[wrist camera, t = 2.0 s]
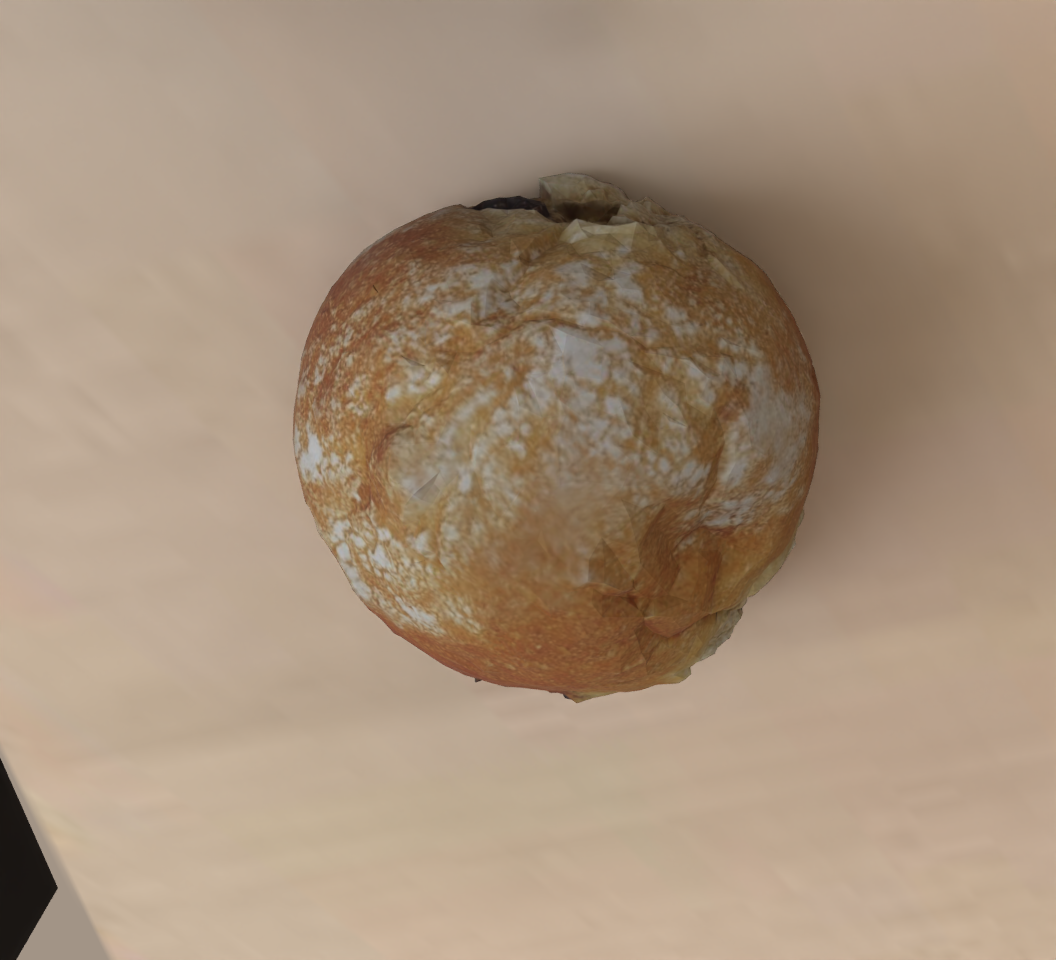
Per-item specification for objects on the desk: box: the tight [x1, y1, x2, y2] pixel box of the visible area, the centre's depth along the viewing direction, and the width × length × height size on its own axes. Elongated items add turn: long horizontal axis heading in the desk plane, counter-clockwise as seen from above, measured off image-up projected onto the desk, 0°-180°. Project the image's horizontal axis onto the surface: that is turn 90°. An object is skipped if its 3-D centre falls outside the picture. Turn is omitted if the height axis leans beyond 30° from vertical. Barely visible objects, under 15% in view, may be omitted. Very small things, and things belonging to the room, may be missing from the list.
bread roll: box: [293, 173, 820, 703], centre depth 18 cm, size 10×10×8 cm
